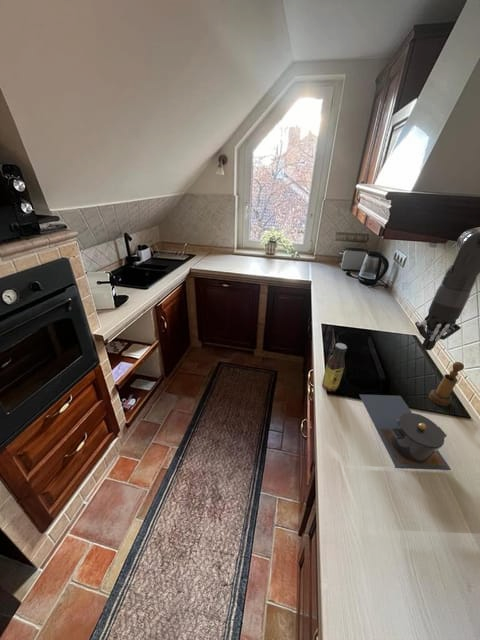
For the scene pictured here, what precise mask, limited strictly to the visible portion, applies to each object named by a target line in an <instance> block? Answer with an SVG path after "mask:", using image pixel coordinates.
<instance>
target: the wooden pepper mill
mask: <svg viewBox="0 0 480 640" xmlns="http://www.w3.org/2000/svg"><path fill="white" fill-rule="evenodd" d="M464 369H465V365H464V364H463V362H460V361H455V362H453V363H452V370H450V371H449V373H446V374H444V375H443V377H442V378H441V381H440V382H439V385H438V387H437V388H436V389H431V391H430V392H429V393H428V398H429V399H430V401H431V402H432V403H434V404H435V405H437V406H442V407H447V406H449V405H450V403H451V402H452V397H451V396H450V395H451V393H452V391H453V390H454V388H455V386H456V385H457V383H458V381H459V380H458V378H457V377H458V376H459V372H461V371H463V370H464Z"/></svg>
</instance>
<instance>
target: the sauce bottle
mask: <svg viewBox="0 0 480 640" xmlns="http://www.w3.org/2000/svg"><path fill="white" fill-rule="evenodd" d="M347 349H348V346H347V345H346V344H345V343H342V342H337V343H335V346H334V351H333V353H332V354H331V355H330V356H329V357H328V360H327V363H326V365H325V370H324V374H323V377H322V382H321V385H322V389H324V390H326V391H327V392H331V393H332V391H333V392H336V391H338V388H339V386H340V383H341V380H342V377H343V373H344V370H345V367H346V364H345V363H346V362H345V355H346V352H347Z"/></svg>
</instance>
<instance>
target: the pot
mask: <svg viewBox="0 0 480 640" xmlns="http://www.w3.org/2000/svg"><path fill="white" fill-rule="evenodd" d="M391 432H392V433H393V434H392V436H391V442H392V445H393V446H394V448H395V449H396V451H397V452H398V453H399V454H400V455H402V456H403V457H404V458H406V459H408V460H410V461H412V462H415V463H419V464H424V463H427V462H429V461H430V460H431V458H432V457H433V455H434V454H435V452H436V451H437V450H440V449H441V448H442V447H443V445H444V444H445V438H447V434H446V433H445V432H444V430H443V429H442V428H441V426H438V425H437V424H436V423H435V422H434V421H432V420H431V419H430V418H427V417H426V416H424V415H421V414H420V413H419V414H418V413H415V412H412V413H405V414H403V415H401V416H400V417H399V418H398V421H397V426H396V428H393V429H391Z"/></svg>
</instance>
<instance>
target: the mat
mask: <svg viewBox="0 0 480 640" xmlns="http://www.w3.org/2000/svg"><path fill="white" fill-rule="evenodd" d="M358 395H359V398H360V400H361V401H362V404H363V406H364V407H365V410H366V411H367V414H368V415H369V418H370V419H371V422H372V424H373V426H374V428H375V430H376V431H377V433H378V435H379V438H380V439H381V441H382V443H383V446H384V447H385V449H386V452H387V453H388V455H389V457H390V459H391V461H392V463H393V465H394V469H407V470H408V469H410V470H411V469H413V470H434V471H435V470H439V471H451V470H452V468H451V467H450V466H449V464H448V463H447V461H446V460H445V458H444V457H443V455H442V454H441V453H440V451H439V449H437V451H436V452H435V454H434V455H433V457H432V458H431V460H430V461H429V462H427V463H424V464H419V463H415V462H412V461H410V460H408V459H406V458H404V457H403V456H402V455H400V454H399V453H398V452H397V451H396V449H395V448H394V446H393V445H392V442H391V436H392V434H393V433H392V432H391V429H393V428H396V426H397V421H398V418H399V417H400V416H401V415H403V414H405V413H413V411H412V410H411V409H410V407H409V406H408V404H407V403H406V402H405V400H404V399H403V397H402V396H401V395H390V394H389V395H388V394H387V395H386V394H384V395H383V394H361V393H360V394H358Z"/></svg>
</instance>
